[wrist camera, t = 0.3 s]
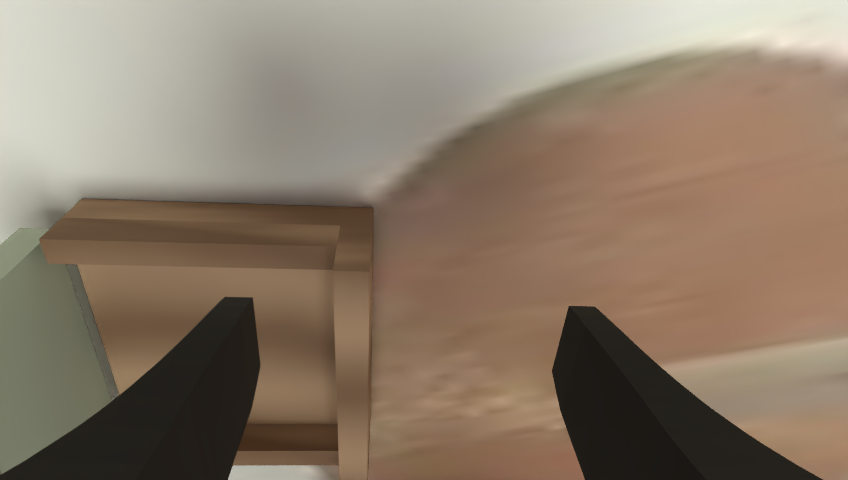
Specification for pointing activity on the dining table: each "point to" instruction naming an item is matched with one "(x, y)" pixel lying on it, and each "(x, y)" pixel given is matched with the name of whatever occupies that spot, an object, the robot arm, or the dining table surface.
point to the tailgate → (42, 352)
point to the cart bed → (241, 277)
